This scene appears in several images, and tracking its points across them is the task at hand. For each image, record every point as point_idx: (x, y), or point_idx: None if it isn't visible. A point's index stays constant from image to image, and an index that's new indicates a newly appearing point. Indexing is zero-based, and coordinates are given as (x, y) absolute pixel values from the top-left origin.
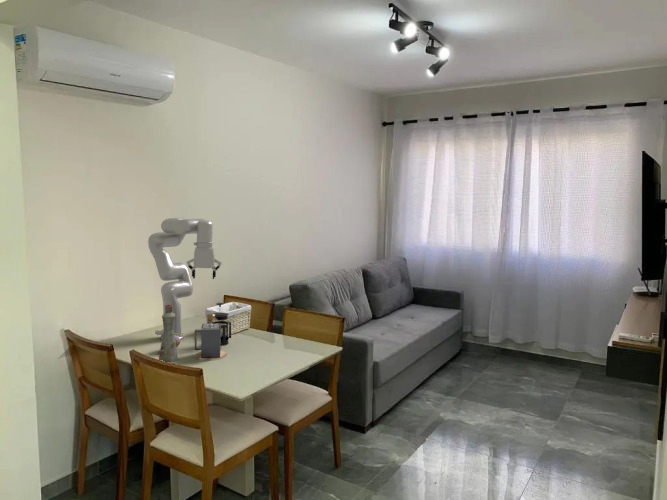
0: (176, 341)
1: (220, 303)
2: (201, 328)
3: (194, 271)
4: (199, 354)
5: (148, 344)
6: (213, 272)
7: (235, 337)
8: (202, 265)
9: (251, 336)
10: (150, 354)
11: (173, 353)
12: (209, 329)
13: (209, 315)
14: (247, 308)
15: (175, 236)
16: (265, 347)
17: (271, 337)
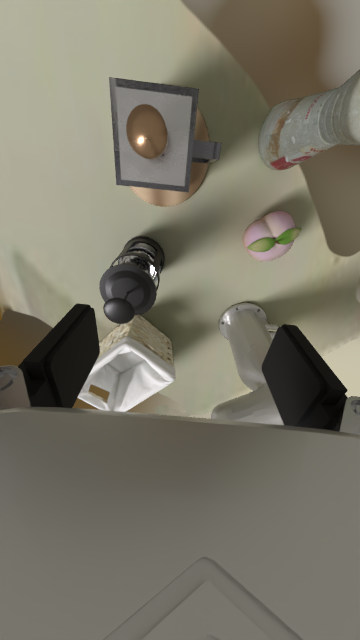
0: (257, 222)
1: (116, 308)
2: (197, 90)
3: (322, 384)
4: (195, 167)
5: (297, 288)
6: (42, 350)
7: None
8: (237, 483)
9: None
10: (313, 210)
11: (284, 104)
12: (160, 85)
13: (154, 108)
14: None
15: None
16: (24, 215)
17: (30, 292)
